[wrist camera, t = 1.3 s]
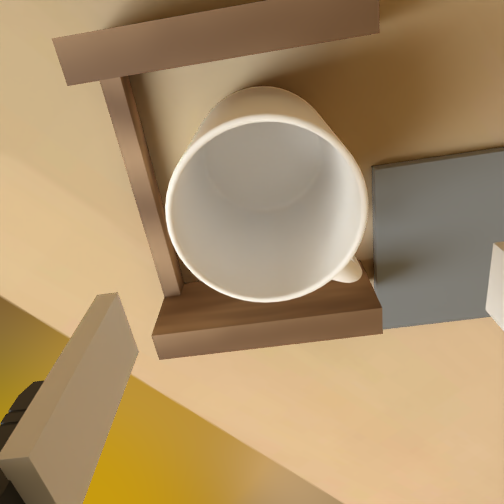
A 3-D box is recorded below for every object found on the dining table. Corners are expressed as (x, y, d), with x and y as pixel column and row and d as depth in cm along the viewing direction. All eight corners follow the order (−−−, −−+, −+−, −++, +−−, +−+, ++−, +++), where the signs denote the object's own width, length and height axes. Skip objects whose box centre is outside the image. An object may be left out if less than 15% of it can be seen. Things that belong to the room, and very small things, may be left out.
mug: (295, 267, 31) (313, 369, 21) (169, 156, 27) (123, 221, 18) (387, 187, 28) (456, 265, 19) (261, 51, 24) (266, 61, 15)
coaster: (371, 166, 27) (375, 169, 27) (578, 136, 26) (587, 138, 26) (375, 323, 33) (377, 330, 33) (543, 303, 32) (550, 309, 32)
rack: (96, 37, 24) (51, 38, 19) (349, -8, 23) (378, -20, 18) (174, 306, 33) (159, 359, 27) (360, 283, 32) (382, 333, 26)
